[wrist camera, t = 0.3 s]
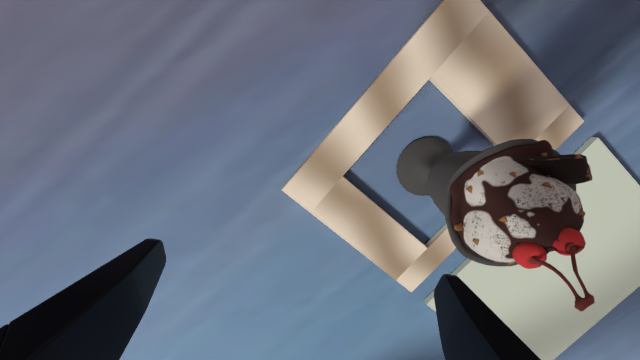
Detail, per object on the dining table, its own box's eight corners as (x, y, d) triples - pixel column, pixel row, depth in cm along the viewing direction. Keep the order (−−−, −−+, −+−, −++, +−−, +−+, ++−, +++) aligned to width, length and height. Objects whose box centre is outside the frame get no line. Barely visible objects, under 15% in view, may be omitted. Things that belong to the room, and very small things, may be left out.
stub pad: (522, 377, 30) (526, 383, 30) (423, 300, 27) (426, 304, 27) (681, 240, 27) (689, 243, 27) (591, 136, 24) (598, 137, 24)
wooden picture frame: (409, 288, 27) (411, 292, 26) (282, 188, 24) (281, 190, 23) (577, 121, 24) (584, 121, 23) (457, -18, 21) (462, -21, 20)
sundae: (400, 216, 25) (537, 366, 10) (376, 144, 23) (499, 202, 9) (472, 189, 25) (714, 303, 10) (453, 114, 23) (709, 123, 9)
